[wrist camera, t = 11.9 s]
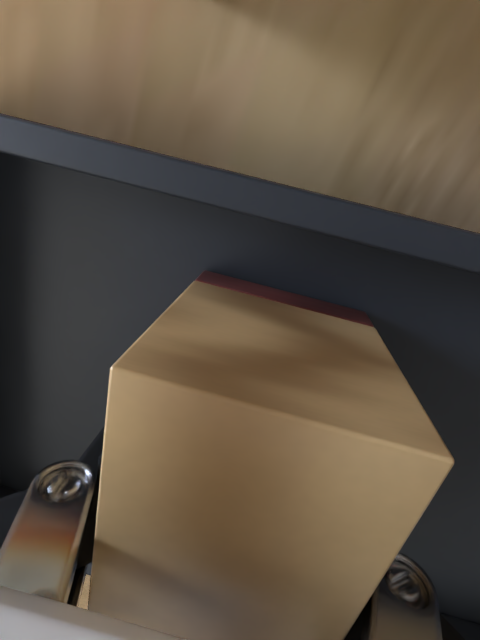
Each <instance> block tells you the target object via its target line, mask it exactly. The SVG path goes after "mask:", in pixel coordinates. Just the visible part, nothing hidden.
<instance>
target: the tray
mask: <svg viewBox="0 0 480 640" xmlns="http://www.w3.org/2000/svg"><path fill="white" fill-rule="evenodd" d="M205 270H206V271H210V272H214V273H218V274H222V275H225V276H229V277H233V278H237V279H241V280H245V281H249V282H252V283H256V284H260V285H264V286H268V287H272V288H275V289H279V290H283V291H287V292H291V293H295V294H299V295H302V296H306V297H310V298H314V299H318V300H322V301H326V302H329V303H333V304H337V305H341V306H345V307H349V308H352V309H356V310H360V311H364V312H366V314H367V315H368V317H369V319H370V320H371V322H372V324H373V325H374V328H376V330H377V332H378V333H379V335H380V337H381V338H382V340H383V342H384V343H385V345H386V347H387V348H388V350H389V352H390V353H391V355H392V357H393V358H394V360H395V362H396V363H397V365H398V367H399V368H400V370H401V372H402V373H403V375H404V377H405V378H406V380H407V382H408V383H409V385H410V387H411V388H412V390H413V392H414V393H415V395H416V397H417V398H418V400H419V401H420V403H421V405H422V406H423V408H424V410H425V411H426V413H427V415H428V416H429V418H430V420H431V421H432V423H433V425H434V426H435V428H436V430H437V431H438V433H439V435H440V436H441V438H442V440H443V441H444V443H445V445H446V446H447V448H448V450H449V451H450V453H451V455H452V456H453V458H454V465H453V467H452V468H451V470H450V472H449V473H448V475H447V476H446V478H445V480H444V481H443V483H442V484H441V486H440V488H439V489H438V491H437V492H436V494H435V495H434V497H433V499H432V500H431V502H430V503H429V505H428V507H427V508H426V510H425V511H424V513H423V515H422V516H421V518H420V519H419V521H418V523H417V524H416V526H415V527H414V529H413V530H412V532H411V534H410V535H409V537H408V538H407V540H406V542H405V543H404V545H403V546H402V548H401V550H400V551H399V552H400V553H402V554H405V555H407V556H408V557H410V558H411V559H413V560H414V561H415V562H416V563H417V564H418V565H419V566H420V567H422V568H423V569H424V571H425V572H426V573H427V575H428V576H429V577H430V579H431V581H432V583H433V585H434V587H435V589H436V592H437V596H438V602H439V612H440V614H441V615H442V616H443V617H444V618H445V619H446V620H447V621H448V622H449V623H450V624H451V625H452V626H453V627H454V628H455V629H456V631H457V632H458V633H459V634H460V635H461V636H462V637H463V638H464V639H465V640H480V233H476V232H472V231H468V230H464V229H460V228H456V227H452V226H448V225H444V224H440V223H436V222H432V221H428V220H424V219H420V218H416V217H412V216H408V215H404V214H400V213H396V212H392V211H388V210H384V209H380V208H376V207H372V206H368V205H364V204H360V203H356V202H352V201H348V200H344V199H340V198H336V197H332V196H328V195H324V194H320V193H316V192H312V191H308V190H304V189H300V188H296V187H292V186H288V185H284V184H280V183H276V182H272V181H268V180H264V179H260V178H256V177H252V176H248V175H244V174H240V173H236V172H232V171H228V170H224V169H220V168H216V167H212V166H208V165H204V164H200V163H196V162H192V161H189V160H185V159H181V158H177V157H173V156H169V155H165V154H161V153H157V152H153V151H149V150H145V149H141V148H137V147H133V146H129V145H125V144H121V143H117V142H113V141H109V140H105V139H101V138H97V137H93V136H89V135H85V134H81V133H77V132H73V131H69V130H65V129H61V128H57V127H53V126H49V125H45V124H41V123H37V122H33V121H29V120H25V119H21V118H17V117H13V116H9V115H5V114H1V113H0V498H3V497H6V496H9V495H12V494H15V493H18V492H21V491H24V490H27V489H29V487H30V484H31V482H32V481H33V479H34V478H35V476H36V475H37V473H39V472H40V471H41V470H42V469H43V468H44V467H46V466H48V465H50V464H52V463H54V462H58V461H61V460H71V459H73V460H79V458H80V457H81V456H82V454H83V453H84V452H85V450H86V449H87V448H88V447H89V445H90V444H91V443H92V441H93V440H94V439H95V437H96V436H97V435H98V433H99V432H100V431H101V429H102V428H103V427H104V426H105V417H106V407H107V396H108V385H109V374H110V368H111V366H112V365H113V364H114V363H115V362H116V361H117V360H118V359H119V358H120V357H121V356H122V355H123V354H124V353H125V352H126V351H127V350H128V348H129V347H130V346H131V345H132V344H133V343H134V342H135V341H136V340H137V339H138V338H139V337H140V336H141V335H142V334H143V333H144V332H145V331H146V330H147V329H148V328H149V327H150V326H151V325H152V324H153V323H154V322H155V321H156V320H157V319H158V318H159V316H160V315H161V314H162V313H163V312H164V311H165V310H166V309H167V308H168V307H169V306H170V305H171V304H172V303H173V302H174V301H175V300H176V299H177V298H178V297H179V296H180V295H181V294H182V293H183V292H184V291H185V290H186V289H187V288H188V287H189V285H190V284H191V283H192V282H193V281H195V279H196V278H197V277H198V276H199V275H200V274H201V273H202V272H203V271H205ZM91 569H92V562H91V563H89V564H88V567H87V571H86V574H88V575H91Z"/></svg>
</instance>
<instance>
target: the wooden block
mask: <svg viewBox="0 0 480 640" xmlns="http://www.w3.org/2000/svg"><path fill="white" fill-rule="evenodd" d="M453 465H454V458H453V456H452V455H451V453H450V451H449V450H448V448H447V446H446V445H445V443H444V441H443V440H442V438H441V436H440V435H439V433H438V431H437V430H436V428H435V426H434V425H433V423H432V421H431V420H430V418H429V416H428V415H427V413H426V411H425V410H424V408H423V406H422V405H421V403H420V401H419V400H418V398H417V397H416V395H415V393H414V392H413V390H412V388H411V387H410V385H409V383H408V382H407V380H406V378H405V377H404V375H403V373H402V372H401V370H400V368H399V367H398V365H397V363H396V362H395V360H394V358H393V357H392V355H391V353H390V352H389V350H388V348H387V347H386V345H385V343H384V342H383V340H382V338H381V337H380V335H379V333H378V332H377V330H376V328H374V325H373V324H372V322H371V320H370V319H369V317H368V315H367V314H366V312H364V311H360V310H356V309H352V308H349V307H345V306H341V305H337V304H333V303H329V302H326V301H322V300H318V299H314V298H310V297H306V296H302V295H299V294H295V293H291V292H287V291H283V290H279V289H275V288H272V287H268V286H264V285H260V284H256V283H252V282H249V281H245V280H241V279H237V278H233V277H229V276H225V275H222V274H218V273H214V272H210V271H206V270H205V271H203V272H202V273H201V274H200V275H199V276H198V277H197V278H196V279H195V281H193V282H192V283H191V284H190V285H189V287H188V288H187V289H186V290H185V291H184V292H183V293H182V294H181V295H180V296H179V297H178V298H177V299H176V300H175V301H174V302H173V303H172V304H171V305H170V306H169V307H168V308H167V309H166V310H165V311H164V312H163V313H162V314H161V315H160V316H159V318H158V319H157V320H156V321H155V322H154V323H153V324H152V325H151V326H150V327H149V328H148V329H147V330H146V331H145V332H144V333H143V334H142V335H141V336H140V337H139V338H138V339H137V340H136V341H135V342H134V343H133V344H132V345H131V346H130V347H129V348H128V350H127V351H126V352H125V353H124V354H123V355H122V356H121V357H120V358H119V359H118V360H117V361H116V362H115V363H114V364H113V365H112V366H111V368H110V374H109V385H108V396H107V407H106V417H105V428H104V439H103V450H102V461H101V471H100V482H99V493H98V504H97V515H96V526H95V536H94V547H93V558H92V569H91V580H90V590H89V601H88V610H89V611H93V612H96V613H99V614H103V615H106V616H110V617H113V618H116V619H120V620H123V621H126V622H130V623H133V624H137V625H140V626H143V627H147V628H150V629H153V630H157V631H160V632H164V633H167V634H170V635H174V636H177V637H180V638H183V639H187V640H344V639H345V637H346V635H347V634H348V632H349V631H350V629H351V628H352V626H353V624H354V623H355V621H356V620H357V618H358V616H359V615H360V613H361V612H362V610H363V608H364V607H365V605H366V604H367V602H368V600H369V599H370V597H371V596H372V594H373V593H374V591H375V589H376V588H377V586H378V585H379V583H380V581H381V580H382V578H383V577H384V575H385V573H386V572H387V570H388V569H389V567H390V565H391V564H392V562H393V561H394V559H395V558H396V556H397V554H398V553H399V551H400V550H401V548H402V546H403V545H404V543H405V542H406V540H407V538H408V537H409V535H410V534H411V532H412V530H413V529H414V527H415V526H416V524H417V523H418V521H419V519H420V518H421V516H422V515H423V513H424V511H425V510H426V508H427V507H428V505H429V503H430V502H431V500H432V499H433V497H434V495H435V494H436V492H437V491H438V489H439V488H440V486H441V484H442V483H443V481H444V480H445V478H446V476H447V475H448V473H449V472H450V470H451V468H452V467H453Z"/></svg>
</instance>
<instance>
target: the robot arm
mask: <svg viewBox="0 0 480 640" xmlns="http://www.w3.org/2000/svg"><path fill="white" fill-rule="evenodd" d="M104 428H105V426H104V427H103V428H102V429H101V431H100V432H99V433H98V435H97V436H96V437H95V439H94V440H93V441H92V443H91V444H90V445H89V447H88V448H87V449H86V450H85V452H84V453H83V454H82V456H81V457H80V458H79V460H73V459H71V460H61V461H58V462H54V463H52V464H50V465H48V466H46V467H44V468H43V469H42V470H41V471H40V472H39V473H37V475H36V476H35V478H34V479H33V481H32V482H31V484H30V487H29V489H27V490H24V491H21V492H18V493H15V494H12V495H9V496H6V497H3V498H0V640H187V639H183V638H180V637H177V636H174V635H170V634H167V633H164V632H160V631H157V630H153V629H150V628H147V627H143V626H140V625H137V624H133V623H130V622H126V621H123V620H120V619H116V618H113V617H110V616H106V615H103V614H99V613H96V612H93V611H89V610H86V609H83V608H79V607H78V606H79V601H80V597H81V593H82V589H83V584H84V580H85V576H86V571H87V567H88V564H89V563H91V562H92V558H93V547H94V536H95V526H96V515H97V504H98V493H99V482H100V471H101V461H102V450H103V439H104ZM344 640H465V639H464V638H463V637H462V636H461V635H460V634H459V633H458V632H457V631H456V629H455V628H454V627H453V626H452V625H451V624H450V623H449V622H448V621H447V620H446V619H445V618H444V617H443V616H442V615H441V614H440V612H439V602H438V596H437V592H436V589H435V587H434V585H433V583H432V581H431V579H430V577H429V576H428V575H427V573H426V572H425V571H424V569H423V568H422V567H420V566H419V565H418V564H417V563H416V562H415V561H414V560H413V559H411V558H410V557H408V556H407V555H405V554H402V553H400V552H399V553H398V554H397V556H396V558H395V559H394V561H393V562H392V564H391V565H390V567H389V569H388V570H387V572H386V573H385V575H384V577H383V578H382V580H381V581H380V583H379V585H378V586H377V588H376V589H375V591H374V593H373V594H372V596H371V597H370V599H369V600H368V602H367V604H366V605H365V607H364V608H363V610H362V612H361V613H360V615H359V616H358V618H357V620H356V621H355V623H354V624H353V626H352V628H351V629H350V631H349V632H348V634H347V635H346V637H345V639H344Z"/></svg>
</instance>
